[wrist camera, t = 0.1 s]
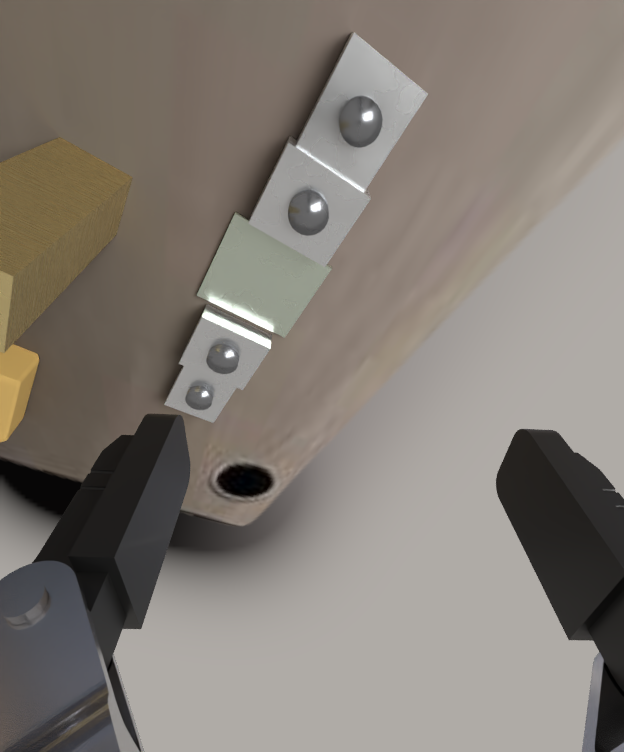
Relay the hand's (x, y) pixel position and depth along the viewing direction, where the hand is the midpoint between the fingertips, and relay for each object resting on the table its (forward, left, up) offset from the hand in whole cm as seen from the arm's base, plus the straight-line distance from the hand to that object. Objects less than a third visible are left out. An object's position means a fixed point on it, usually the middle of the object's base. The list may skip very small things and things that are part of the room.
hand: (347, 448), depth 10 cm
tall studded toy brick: (+9, -13, -22) cm, 27 cm away
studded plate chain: (+9, 0, -22) cm, 24 cm away
